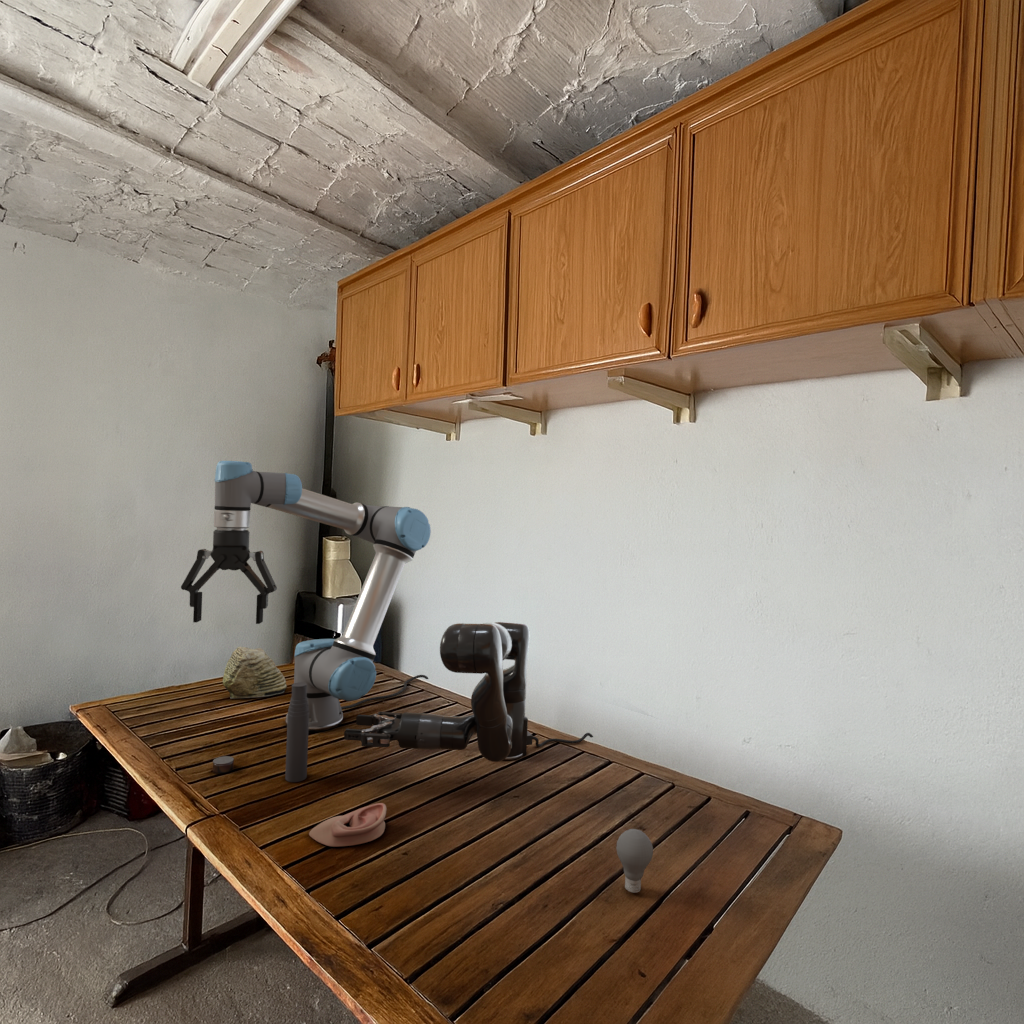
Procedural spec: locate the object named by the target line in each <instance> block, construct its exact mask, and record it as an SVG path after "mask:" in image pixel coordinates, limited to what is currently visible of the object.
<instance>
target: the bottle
mask: <svg viewBox="0 0 1024 1024" xmlns="http://www.w3.org/2000/svg"><path fill="white" fill-rule="evenodd" d="M306 696H307V683H304V682H298V683H294V682H293V683H292V684H291V697H290V701H289V705H288V709H287V713H288V718H287V726H286V745H285V748H286V749H285V772H284V773H285V775H284V779H285V781H286V782H288V783H299V782H302V781H304V780H306V779H307V777H308V753H309V752H308V750H309V732H308V730H309V708H308V701H307V697H306Z"/></svg>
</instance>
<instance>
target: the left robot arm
mask: <svg viewBox="0 0 1024 1024" xmlns="http://www.w3.org/2000/svg"><path fill="white" fill-rule="evenodd" d="M252 504H254V505H256V506H261V507H265V508H268V509H272V510H275V511H278V512H282V513H285V514H288V515H293V516H296V517H300V518H304V519H305V520H306V519H307V520H310V521H313V522H317V523H320V524H324V525H328V526H332V527H333V528H334V527H335V528H338V529H341V530H344V532H345V534H347V535H350V536H353V537H356V538H359V539H361V540H364V541H366V542H368V543H372V544H373V545H372V546H373V550H374V551H375V555H374V557H373V560H372V562H371V563H370V567H369V569H368V571H367V574H366V576H365V580H364V581H363V584H362V586H361V589H360V591H359V594H358V597H357V599H356V601H355V603H354V606H353V608H352V611H351V614H350V616H349V619H348V621H347V622H346V626H345V628H344V630H343V633H342V635H341V636H339V637H337V638H319V639H308V640H303V641H300V642H299V643H297V644H296V646H295V650H294V655H293V657H294V672H293V673H294V674H293V684H294V683H298V682H304V683H307V696H306V697H307V701H308V708H309V730H308V733H316V732H325V731H329V730H332V729H335V728H337V727H339V726H340V725H342V723H343V722H344V714H343V710H348V709H352V708H356V707H357V706H360V705H362V704H364V703H368V702H371V701H377V700H383V699H390V698H394V697H396V696H398V695H401V694H402V693H403V692H404V691H406V689H407V684H408V683H410V682H412V681H414V680H417V679H420V678H424V679H425V680H429V679H430V678H429V677H428V676H427V675H425V674H417V675H414V676H413V677H411V678H409V679H407V680H405V681H404V683H403V687H402V688H401V689H400V690H398V691H396V692H394V693H391V694H386V695H380V696H379V695H378V696H373V697H368V698H365V699H362V700H360V701H357V700H359V699H361V698H362V697H364V696H366V695H367V694H368V693H369V692H370V691H371V689H372V688H373V686H374V685H375V682H376V680H377V670H376V665H375V663H374V660H375V658H376V656H377V654H376V653H377V652H376V651H375V649H374V645H375V642H376V640H377V638H378V635H379V632H380V629H381V628H382V624H383V622H384V619H385V616H386V614H387V611H388V609H389V606H390V603H391V601H392V598H393V596H394V593H395V590H396V588H397V586H398V583H399V581H400V578H401V576H402V573H403V570H404V568H405V565H406V564H408V563H409V562H412V561H413V559H414V557H415V555H416V552H417V551H420V550H422V549H424V548H425V547H426V546H427V545H428V543H429V541H430V538H431V533H432V532H431V524H430V522H429V519H428V517H427V515H426V514H425V513H424V512H423V511H421V510H420V509H418V508H413V507H410V506H404V507H403V506H389V505H371V504H366V503H361V502H354V503H350V502H347V501H343V500H341V499H337V498H334V497H331V496H328V495H325V494H322V493H318V492H315V491H312V490H309V489H306V488H303V483H302V480H301V478H300V476H298V475H297V474H295V473H288V472H274V471H273V472H271V471H257V470H253V465H252V463H251V462H249V461H239V460H238V461H237V460H219V461H218V462H217V463H216V467H215V473H214V509H213V527H214V528H216V529H214V530H213V534H212V550H209V549H207V548H201V549H198V550H197V552H196V554H197V555H196V559H195V561H194V563H193V564H192V566H191V568H190V570H189V572H188V573H187V575H186V577H185V579H184V580H183V582H182V584H181V586H180V589H181V590H182V591H186V592H188V593H189V607H190V608H193V616H192V617H193V618H192V620H193V621H192V623H198V622H201V621H202V613H203V591H200V590H201V589H202V587H203V586H204V585H206V583H207V582H208V581H209V580H210V579H211V578H212V577H213V576H214V575H215V574H216V573H217V572H218V571H219V570H221V571H227V570H228V571H238V570H240V572H241V573H242V574H244V575H245V577H246V578H247V579H248V580H249V581H250V583H251V584H252V585H253V586H254V587H255V589H256V590H257V591H258V592H259V594H257V595H256V610H255V624H256V625H260V624H261V623H263V621H264V609H265V610H266V609H267V608H268V605H269V594H271V593H274V592H276V591H277V590H278V587H277V584H276V583H275V580H274V578H273V576H272V574H271V571H270V570H269V568H268V566H267V563H266V561H265V555H264V551H263V550H258V551H250V531H249V530H248V529H250V528H251V508H252V507H251V506H252ZM210 557H211V559H212V560H213V563H212V564H210V566H209V567H208V569H207V570H206V571H205V572H204V573H203V574H202V575H201V576H200V577H199V579H198V580H196V578H197V576H198V574H199V573H200V571H201V570H202V567H203V566H204V564H205V562H206V560H208V559H209V558H210ZM250 559H252V561H254V562H255V565H256V566H257V569H258V571H259V573H260V575H261V577H262V579H263V581H264V582H263V581H262V580H261V578H260V576H258V575H257V573H256V572H255V571H254V570H253V569H252V566H251V565H250V564H249V562H248V561H249V560H250ZM195 580H196V581H195ZM340 700H342V701H346V702H353V701H354V703H352V704H348V705H343V706H341V702H340ZM355 701H357V702H355ZM287 718H288V712H287V713H286V715H285V726H286V727H287Z"/></svg>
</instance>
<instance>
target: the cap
mask: <svg viewBox="0 0 1024 1024" xmlns="http://www.w3.org/2000/svg"><path fill="white" fill-rule="evenodd" d="M234 761H235V759H234V757H233V756H230V755H223V756H219V757H216V758H214V759H213V760H212V773H215V774H227V773H229V772H232V771H233V770H234V765H235V764H234Z"/></svg>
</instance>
